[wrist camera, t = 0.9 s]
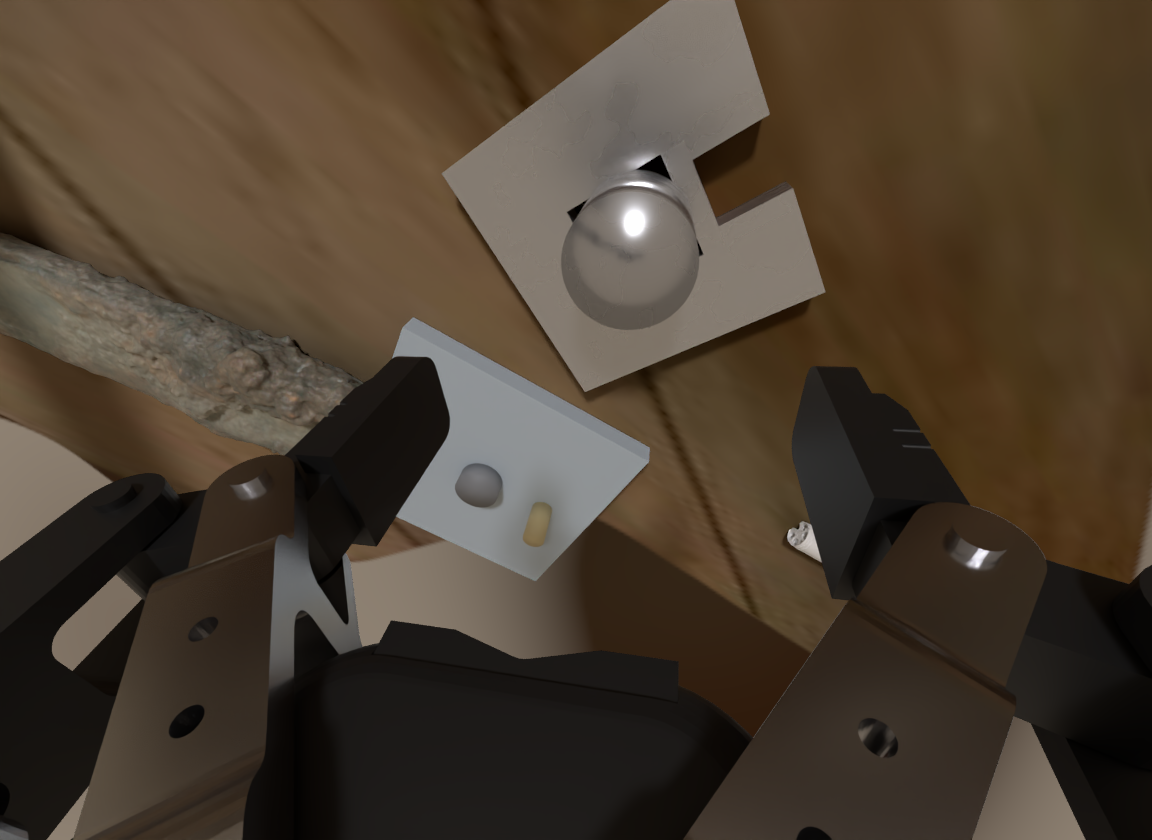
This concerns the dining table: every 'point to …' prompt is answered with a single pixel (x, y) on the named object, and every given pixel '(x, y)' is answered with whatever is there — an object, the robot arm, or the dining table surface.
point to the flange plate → (628, 129)
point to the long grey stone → (166, 349)
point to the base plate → (512, 461)
